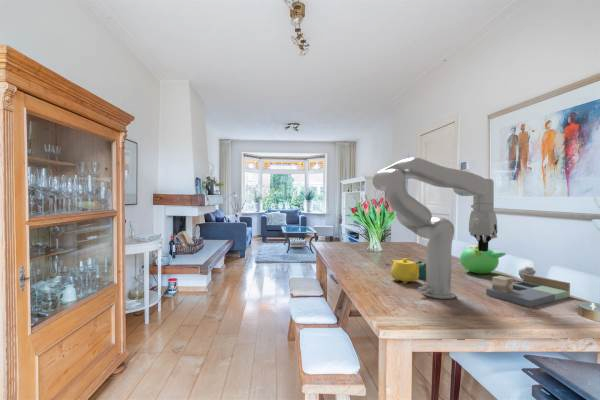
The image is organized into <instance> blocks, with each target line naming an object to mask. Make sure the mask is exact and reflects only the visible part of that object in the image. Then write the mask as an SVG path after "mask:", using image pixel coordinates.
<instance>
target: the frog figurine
mask: <svg viewBox="0 0 600 400" xmlns="http://www.w3.org/2000/svg"><path fill="white" fill-rule="evenodd" d="M524 274H528V275H533V276H535V274H536V270H535V269H534V267H531V266H525V267H523V268H520V269H518V276H519V277H520V279H521V280H522V281H524Z"/></svg>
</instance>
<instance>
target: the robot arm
mask: <svg viewBox="0 0 600 400" xmlns="http://www.w3.org/2000/svg"><path fill="white" fill-rule="evenodd" d="M409 179H410V180H411V179H413V180H417V181H419V182H422V183H424V184H428V185H431V186H433V187H436V188H437V187H438V188H445V189H446V188H447V189H452V190H453V192H454V193H455V194H456V195H457V196H461V197H472V198H473V199H472V203H473V204H471V206H470V208H471V209H472V210H471V211H470V214H469V219H468V220H469V222H468V233H470V236H471V237H473V238H475V239H476V241H477V244H478V248H479V251H483V252H485V251H488V249H489V242H490V241H491V240H493V239H498V218H497V214H496V211H494V210H495V205H494V203H495V201H494V200H495V199H494V195H495V194H494V193H495V191H494V190H495V186H494V185H495V182H494V180H493V179H492V178H485V177H483V176H482V175H478V174H475V173H473V172H469V171H466V170H460V169H456V168H451V167H446V166H443V165H439V164H437V163H435V162H432V161H429V160H427V159H424V158H421V157H415V156H414V157H407V158H405V159H401V160H399V161H397V162H395V163H393V164H391V165H389V166H387V167H385V168H383V169H380V170H379V171H377V172H376V173H375V174H374V175H373V178H372V185H373V187H374V188H375V190H377V191H380V192H386V193H385V194H386V200H387V204H388V206H389V207H390V208H391V209H392V210H393V211H395V216H396V219H397V221H398V223H400V224H401V225H402V226H403V227H405V228H407V229H408V230H409V231H411V232H412V233H414V234H416V235H417V236H419V237H421V238H423V239H428V243H427V245H426V247H425V262H426V279H425V282H424V285H422V286H418V287H417V291H418V292H419V293H422V294H423V295H425V296H427V297H428V298H429V297H430V298H433V299H434V298H435V299H439V300H440V299H441V300H449V299H450V300H451V299H454V298H456V296H457V294H456V292H455V291H454V290H452V246H453V239H454V235H455V227H454V225H453V222H452V221H451V220H449V219H447V218H445V217H441V216H440V217H439V216H433V215H432V214H433V213H431V210H430V209H429V208H428V207H427V206H426V205H424V204H423V203H421V202H420V201H419V200H417V199H416V198H414V197H412V195H411V194H409V193H408V190H407V186H406V180H409Z"/></svg>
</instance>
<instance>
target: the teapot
mask: <svg viewBox="0 0 600 400" xmlns="http://www.w3.org/2000/svg"><path fill="white" fill-rule="evenodd" d="M419 266H420V264H417V265H416V263H415V262H414V261H412V260H408V258H401V259H399V260H397V259H396V260H395V259H392V260H391V270H390V275H391V277H392V278H393V279H394V281H396V282H399V281H401V282H402V284H405V285H406V284H408V282H411V283H416V281H417V280H418V279H420V278H419Z"/></svg>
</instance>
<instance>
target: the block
mask: <svg viewBox="0 0 600 400" xmlns="http://www.w3.org/2000/svg"><path fill="white" fill-rule="evenodd" d="M491 279H492V280H491V281H492V282H491V283H492V287H491V288H492V289H493V290H497V291H500V292H504V293H506V292H511V291H513V283H514V279H513V278H512V277H507V276H503V275H496V276H492V277H491Z"/></svg>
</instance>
